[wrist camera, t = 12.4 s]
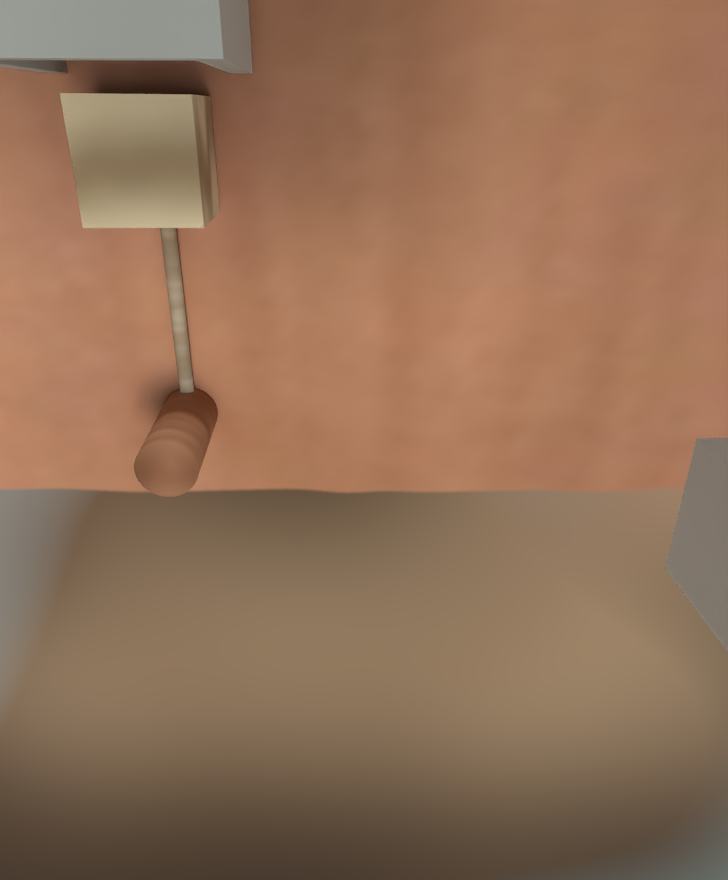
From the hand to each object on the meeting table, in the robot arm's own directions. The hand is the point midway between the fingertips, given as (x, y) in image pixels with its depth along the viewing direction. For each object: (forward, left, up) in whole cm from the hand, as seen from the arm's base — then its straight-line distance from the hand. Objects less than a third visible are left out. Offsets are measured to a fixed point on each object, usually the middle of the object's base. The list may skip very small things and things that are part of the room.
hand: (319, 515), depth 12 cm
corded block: (+3, -9, -32) cm, 33 cm away
